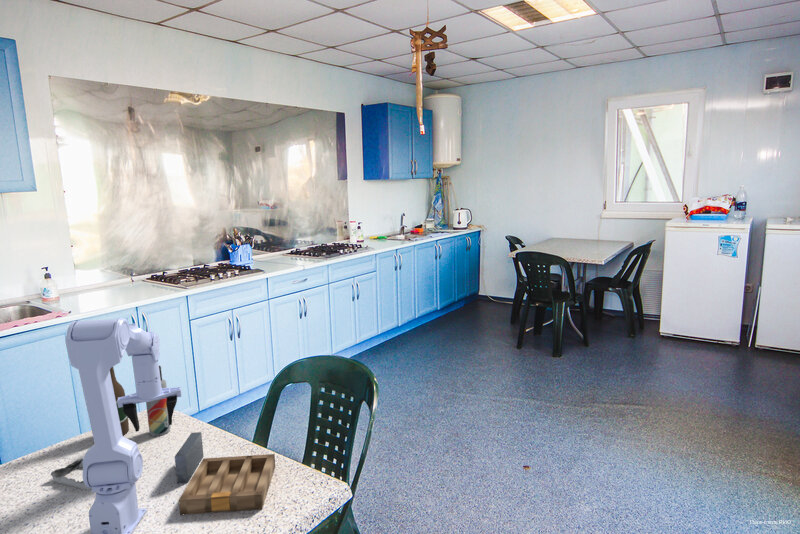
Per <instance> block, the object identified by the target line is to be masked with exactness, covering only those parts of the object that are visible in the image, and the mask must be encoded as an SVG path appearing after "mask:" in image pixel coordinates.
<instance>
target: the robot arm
mask: <svg viewBox="0 0 800 534" xmlns="http://www.w3.org/2000/svg"><path fill="white" fill-rule="evenodd" d="M65 345H66V349H67V355H68V356H67V357H68V359H69V362H70V366H71V367H73V368H74V369H76V370H78V373H79V377H80V384H81V387H82V391H83V396H84V401H85V406H86V410H87V415H88V420H89V423H90V424H89V425H90V429H91V433H92V437H93V443H94V444H93V445H92V446H91V447H90V448H89V449H88V450H87V451H86V452H85V453H84V455H83V457H82V458H83V461H82V463H83V467H82V481H83V482H84V484H85V485H86V486H87V487H88V488H92V490H91V493H95V496H94V497H95V498H94V501H93V503H92V505H91V507H90V509H89V510H88V519H89V527H90V528H89V529H90V534H132V533H133V532H134V530H135V529H136V528H137V526H138V525H139V523H140V521H141V520H142V519H143V517H144V516H145V514H146V512H147V511H148V508H147V507H144V508H141V507H140V508H139V502H138V494H137V485H136V482H138V481H139V479H140V478H141V476H142V472H143V467H144V459H143V456H142V453H141V452H140V450H139V447H138V444H137V442H135V441H133V440H131V439H128V438H127V437H125V436H123V435H122V430H121V425H120V420H119V415H118V410H117V405H116V400H115V395H114V390H113V385H112V380H111V375H110V369H111V367H113V368H114V366H116V365H118V364H120V363H121V361H122V360H123V358H124V354H125V352H126V354H127V356H128V357H131V362H132V367H133V375H134V376H133V377H134V383H135V390H136V392H134V393H130V394H127V395H125V396H123V397H118V400H117V403H118V408H120V407H123V412H124V414H125V415H126V416H127V417H128V420H130V423H131V424H132V426H133V428H134V430H135V432H139V431H140V421H139V417H138V410H137V404H141V403H146V402H150V401H154V400H159V399H165V398H167V400H166V405H167V411H168V423H169V425H171V426H172V425H173V414H174V411H175V408H176V405H177V402H178V398H182V387H181V386H179V387H167V388H162V387H161V379H160V371H159V366H160V364H159V359H160V338H159V335H158V333H155V332H154V331H145V330H144V328H140V327H138V325H137V324H136V323H129V322H128V320H127V319H126V318H124V317H118V318H110V319H108V318H107V319H105V318H104V319H92V320H90V319H89V320H73V321H72V322H71V323H70V324H69V326H68V328H67V330H66V336H65Z"/></svg>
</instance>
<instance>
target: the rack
mask: <svg viewBox="0 0 800 534" xmlns="http://www.w3.org/2000/svg"><path fill="white" fill-rule="evenodd" d="M275 458H276V456H275V453H271V454H270V453H268V454H256V455H255V454H252V455H251V454H250V455H240V456H239V455H238V456H223V457H207V458H205V457H203V459H202V460H201V462H200V464H199V465H198V467H197V469H196V470H195V472H194V474H193V475H192V477H191V479H190V480H189V482H188V483H187V486H186V487H185V489H184V491H183V493H182V494H181V495H180V498H179V499H178V505H179V508H178V509H179V515H180V516H183V514H184V516H185V515H186V514H188V515H199V514H201V515H202V514H212V513H225V512H226V513H228V512H229V513H231V512H241V511H243V512H244V511H253V510H255V511H256V510H263V508H264V504H265V501H266V498H267V495H268V491H269V489H270V486H271V482H272V479H273V476H274V472H275V470H276V459H275Z"/></svg>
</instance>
